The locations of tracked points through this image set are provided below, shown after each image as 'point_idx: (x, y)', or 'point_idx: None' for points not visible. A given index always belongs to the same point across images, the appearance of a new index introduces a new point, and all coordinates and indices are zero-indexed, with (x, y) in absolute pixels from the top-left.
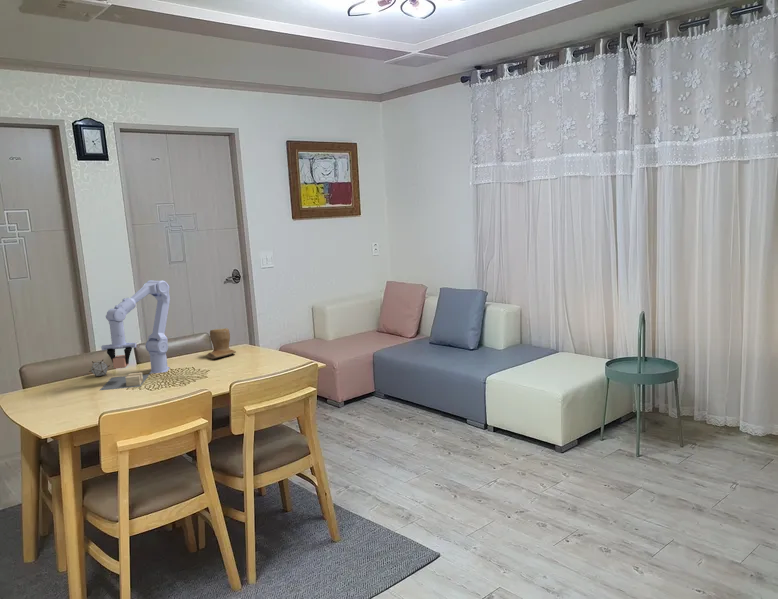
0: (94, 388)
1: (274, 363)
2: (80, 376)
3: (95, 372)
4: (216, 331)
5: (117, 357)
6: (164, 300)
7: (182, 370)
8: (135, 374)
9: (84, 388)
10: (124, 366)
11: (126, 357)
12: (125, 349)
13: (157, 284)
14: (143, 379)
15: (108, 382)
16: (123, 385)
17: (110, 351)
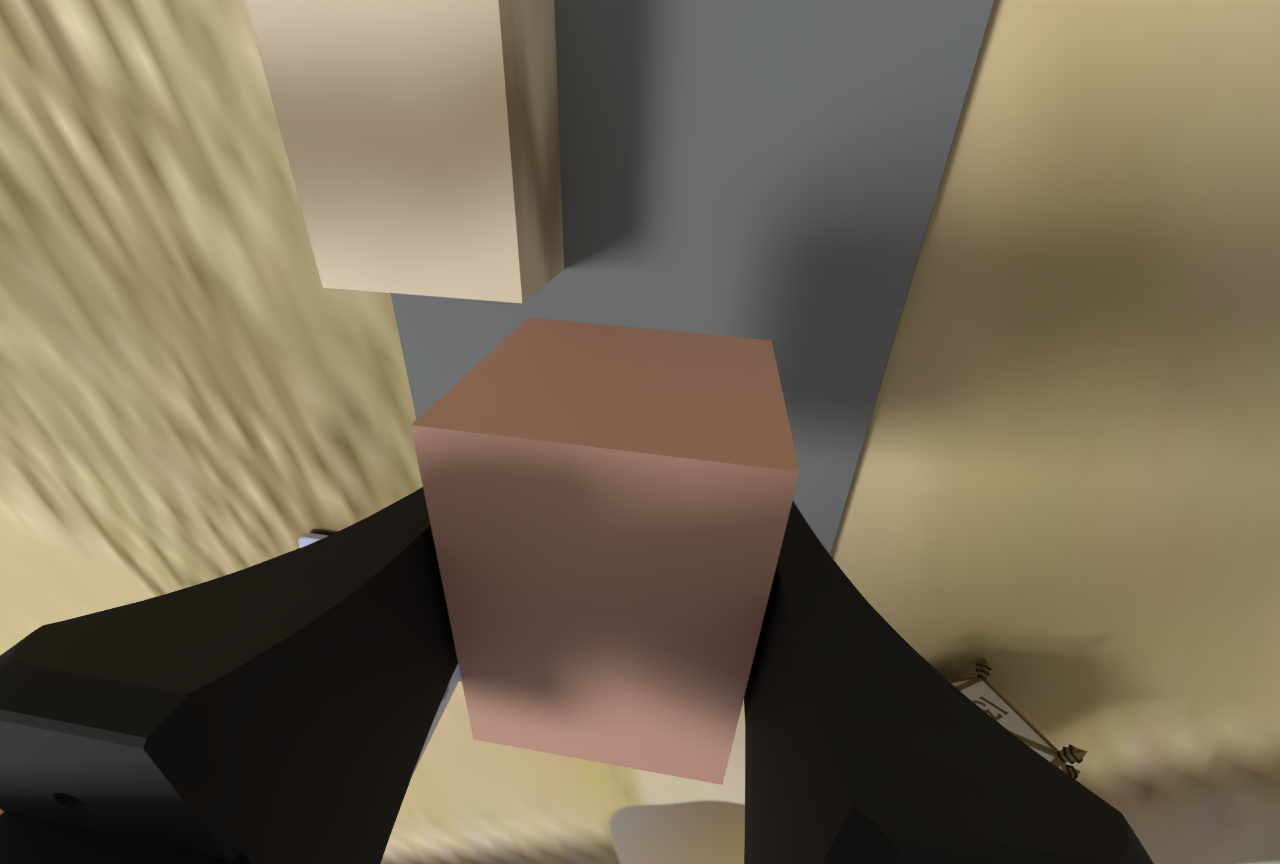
0: (1076, 169)
1: None
2: (1118, 771)
3: (1012, 714)
4: None
5: (661, 601)
6: None
7: (194, 539)
8: (378, 172)
9: (1227, 247)
10: (528, 329)
11: (401, 520)
12: (92, 757)
13: None
14: (426, 336)
15: (855, 391)
16: (619, 92)
17: (952, 854)
